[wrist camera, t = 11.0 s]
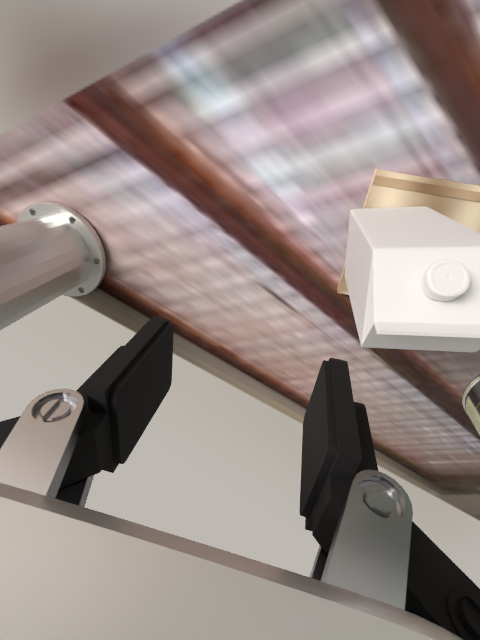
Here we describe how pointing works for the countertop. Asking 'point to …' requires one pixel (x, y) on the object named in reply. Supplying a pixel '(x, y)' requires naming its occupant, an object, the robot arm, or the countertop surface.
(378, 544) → the robot arm
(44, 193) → the countertop surface
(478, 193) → the beech board
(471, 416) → the coffee can
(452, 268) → the milk carton
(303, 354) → the countertop surface
